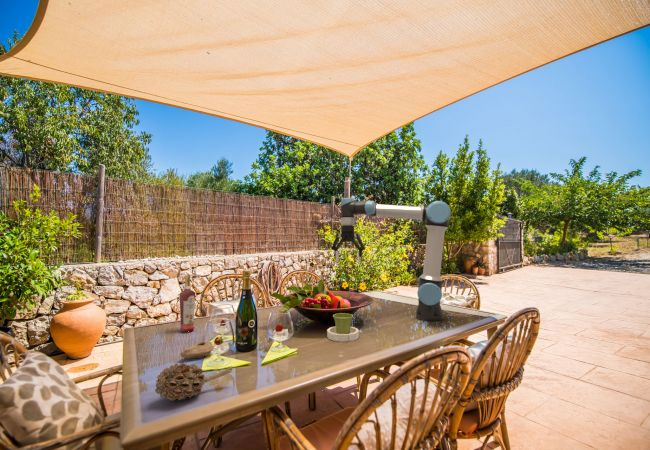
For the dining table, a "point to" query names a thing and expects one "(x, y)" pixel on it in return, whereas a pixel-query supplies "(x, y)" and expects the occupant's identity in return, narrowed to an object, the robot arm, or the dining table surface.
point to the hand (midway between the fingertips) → (348, 262)
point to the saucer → (342, 335)
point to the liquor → (187, 307)
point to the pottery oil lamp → (197, 350)
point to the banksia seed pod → (183, 381)
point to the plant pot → (343, 323)
